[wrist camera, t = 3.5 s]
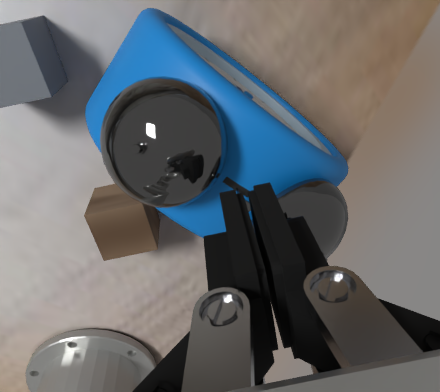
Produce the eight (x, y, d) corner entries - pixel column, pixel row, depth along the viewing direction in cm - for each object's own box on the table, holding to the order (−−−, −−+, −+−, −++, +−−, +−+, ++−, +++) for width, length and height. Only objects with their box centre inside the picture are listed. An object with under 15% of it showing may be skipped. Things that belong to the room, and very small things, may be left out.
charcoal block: (68, 80, 26) (51, 97, 22) (9, 93, 26) (-17, 111, 22) (43, 15, 24) (20, 22, 20) (-21, 28, 24) (-55, 37, 20)
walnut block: (159, 219, 32) (157, 249, 28) (112, 229, 32) (103, 260, 28) (146, 176, 30) (142, 203, 26) (95, 187, 30) (84, 215, 26)
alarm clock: (307, 115, 28) (418, 234, 15) (254, 178, 30) (313, 329, 17) (153, -4, 24) (124, 20, 11) (104, 80, 26) (28, 186, 13)
